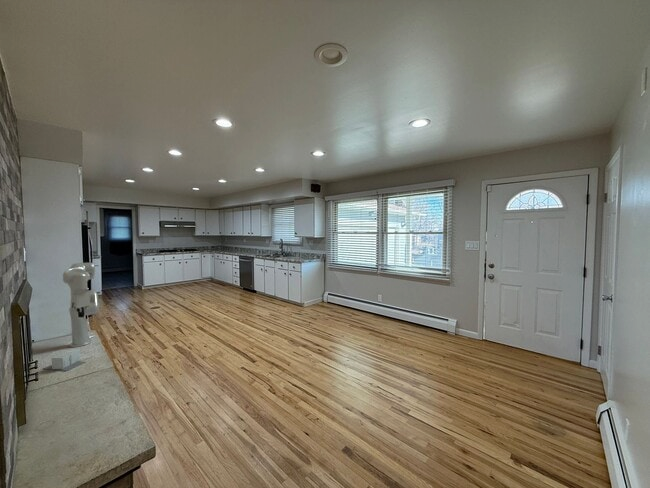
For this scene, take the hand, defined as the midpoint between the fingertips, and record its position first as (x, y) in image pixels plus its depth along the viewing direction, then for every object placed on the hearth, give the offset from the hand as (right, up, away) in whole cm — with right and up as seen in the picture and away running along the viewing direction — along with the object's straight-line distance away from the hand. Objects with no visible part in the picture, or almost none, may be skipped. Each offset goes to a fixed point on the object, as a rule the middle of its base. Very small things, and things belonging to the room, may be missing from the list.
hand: (81, 316), depth 194 cm
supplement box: (+3, -24, -7) cm, 25 cm away
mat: (+2, -28, -14) cm, 31 cm away
